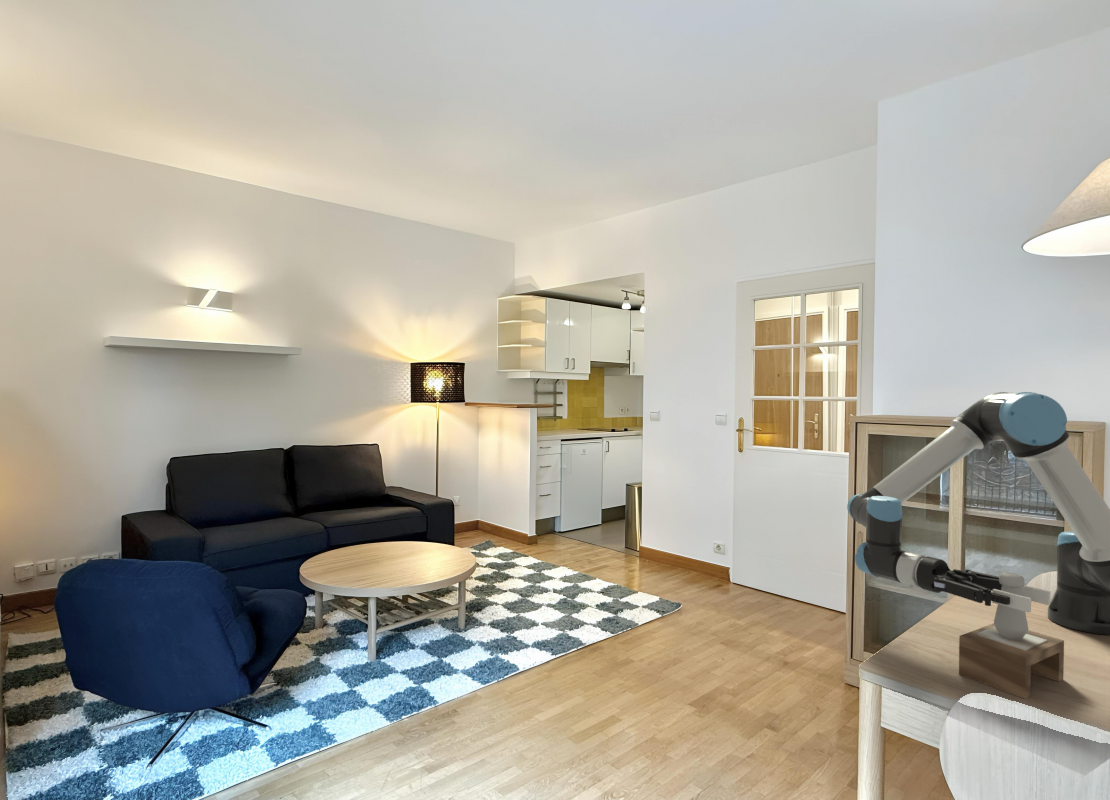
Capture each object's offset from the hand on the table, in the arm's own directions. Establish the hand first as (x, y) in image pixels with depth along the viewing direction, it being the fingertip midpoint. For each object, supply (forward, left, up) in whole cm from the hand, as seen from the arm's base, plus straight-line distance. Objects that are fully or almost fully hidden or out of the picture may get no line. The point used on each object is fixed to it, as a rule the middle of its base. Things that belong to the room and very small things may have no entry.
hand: (1039, 601), depth 125 cm
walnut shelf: (0, -5, -17) cm, 18 cm away
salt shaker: (0, -5, -9) cm, 10 cm away
